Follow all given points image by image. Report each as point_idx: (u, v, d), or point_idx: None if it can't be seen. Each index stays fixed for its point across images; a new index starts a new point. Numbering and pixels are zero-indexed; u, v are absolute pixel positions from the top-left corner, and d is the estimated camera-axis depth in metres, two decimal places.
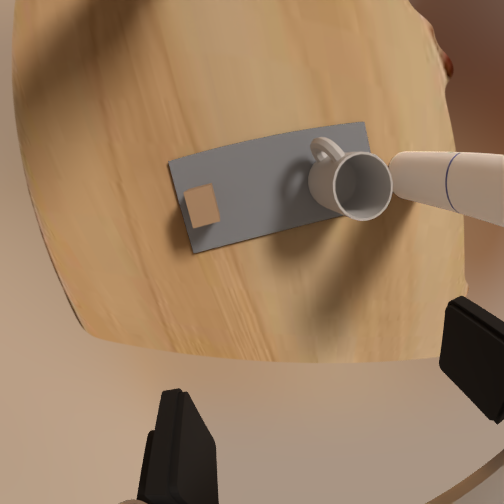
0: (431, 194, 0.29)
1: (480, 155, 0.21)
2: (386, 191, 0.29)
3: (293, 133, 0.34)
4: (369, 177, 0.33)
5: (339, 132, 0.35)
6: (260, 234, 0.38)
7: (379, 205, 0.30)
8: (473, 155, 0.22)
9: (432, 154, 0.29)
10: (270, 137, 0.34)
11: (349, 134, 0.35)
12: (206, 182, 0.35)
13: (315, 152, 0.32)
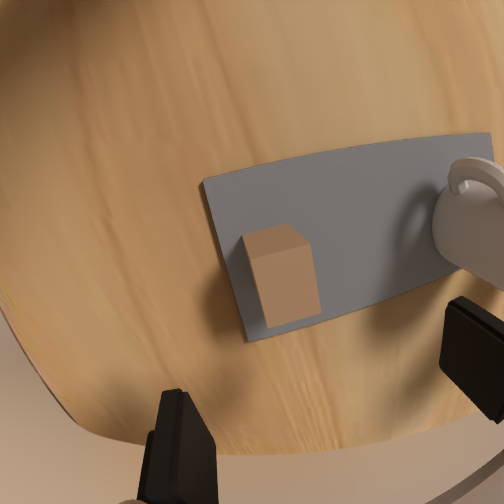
0: None
1: None
2: None
3: (416, 141, 0.18)
4: None
5: (467, 145, 0.19)
6: (358, 307, 0.22)
7: None
8: None
9: None
10: (385, 144, 0.18)
11: (477, 150, 0.19)
12: (277, 222, 0.19)
13: (460, 180, 0.16)
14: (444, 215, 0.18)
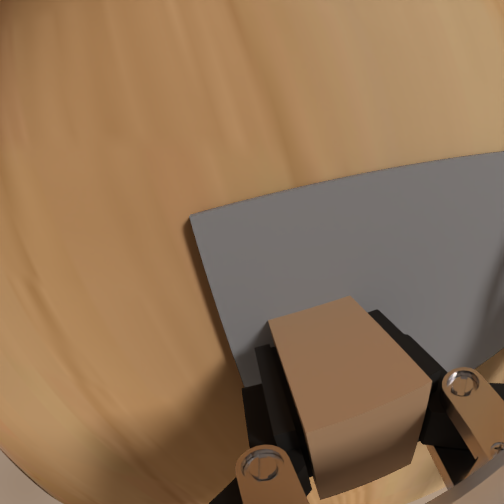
0: None
1: None
2: None
3: None
4: None
5: None
6: None
7: None
8: None
9: None
10: (490, 157, 0.09)
11: None
12: (333, 295, 0.10)
13: None
14: None
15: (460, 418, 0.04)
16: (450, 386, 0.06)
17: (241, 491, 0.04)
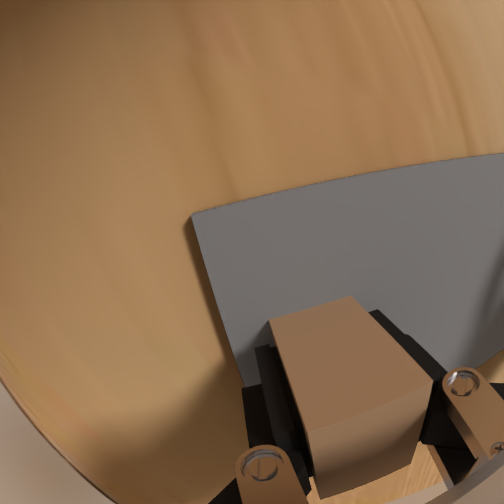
0: None
1: None
2: None
3: None
4: None
5: None
6: None
7: None
8: None
9: None
10: (491, 159, 0.09)
11: None
12: (334, 295, 0.10)
13: None
14: None
15: (460, 418, 0.04)
16: (450, 386, 0.06)
17: (241, 491, 0.04)
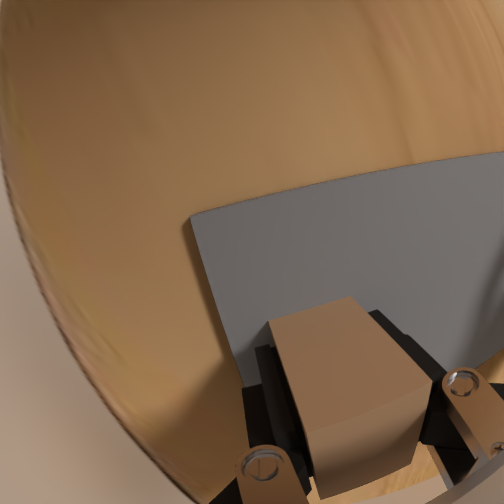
0: None
1: None
2: None
3: None
4: None
5: None
6: None
7: None
8: None
9: None
10: (490, 158, 0.09)
11: None
12: (333, 295, 0.10)
13: None
14: None
15: (460, 418, 0.04)
16: (450, 386, 0.06)
17: (241, 491, 0.04)
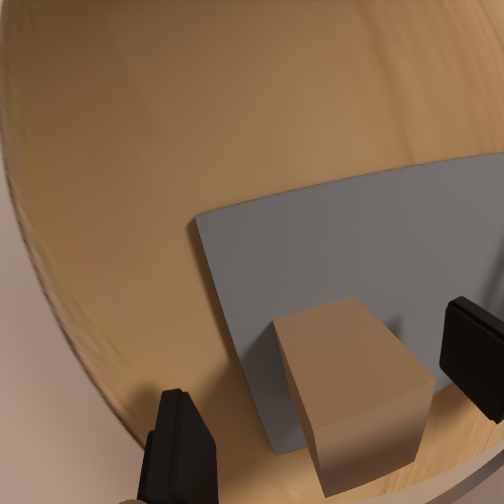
0: None
1: None
2: None
3: None
4: None
5: None
6: None
7: None
8: None
9: None
10: (491, 158, 0.09)
11: None
12: (337, 294, 0.10)
13: None
14: None
15: None
16: None
17: None
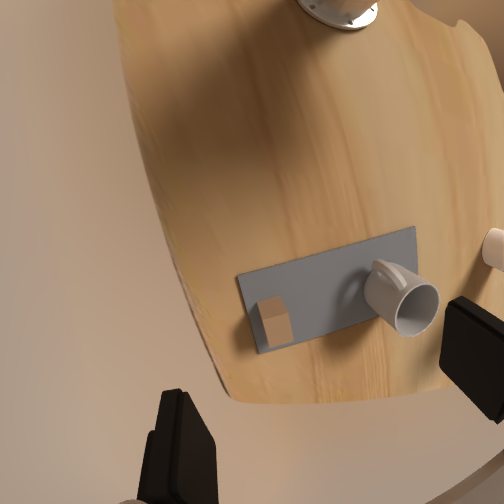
0: None
1: None
2: (433, 307, 0.32)
3: (355, 245, 0.37)
4: (417, 287, 0.35)
5: (393, 240, 0.38)
6: (319, 335, 0.40)
7: (425, 318, 0.33)
8: None
9: None
10: (335, 251, 0.37)
11: (402, 241, 0.38)
12: (274, 295, 0.38)
13: (376, 271, 0.35)
14: (369, 287, 0.37)
15: None
16: None
17: None
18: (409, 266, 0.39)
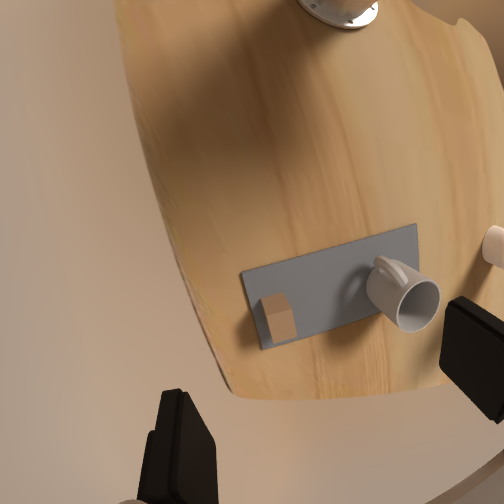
0: None
1: None
2: (434, 304, 0.32)
3: (357, 242, 0.37)
4: (419, 284, 0.36)
5: (395, 237, 0.38)
6: (321, 331, 0.40)
7: (426, 315, 0.33)
8: None
9: None
10: (337, 248, 0.37)
11: (403, 238, 0.38)
12: (277, 291, 0.38)
13: (378, 267, 0.35)
14: (371, 283, 0.37)
15: None
16: None
17: None
18: (410, 263, 0.39)
